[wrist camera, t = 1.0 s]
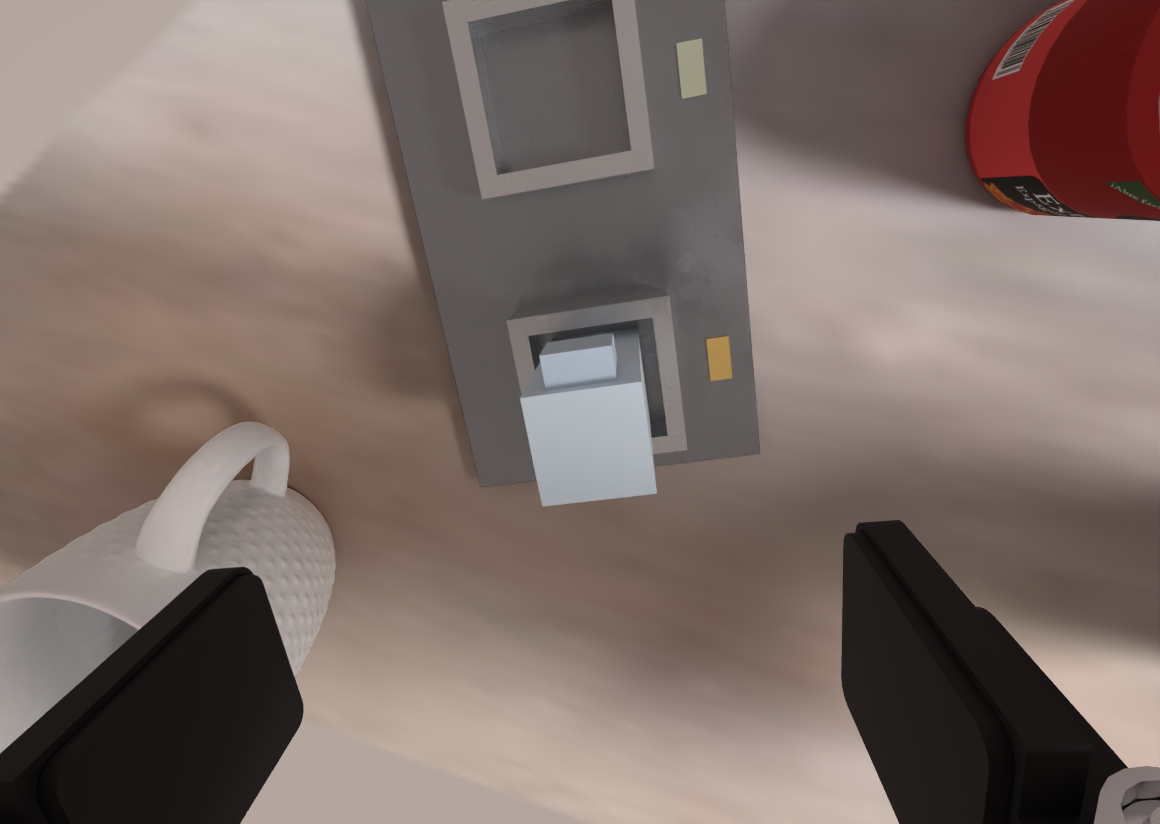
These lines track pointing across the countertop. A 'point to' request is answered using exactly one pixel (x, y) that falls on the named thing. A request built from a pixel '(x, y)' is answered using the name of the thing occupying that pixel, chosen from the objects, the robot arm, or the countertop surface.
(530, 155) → the panel
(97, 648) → the mug
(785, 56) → the countertop surface
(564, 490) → the plug
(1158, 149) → the canned food
